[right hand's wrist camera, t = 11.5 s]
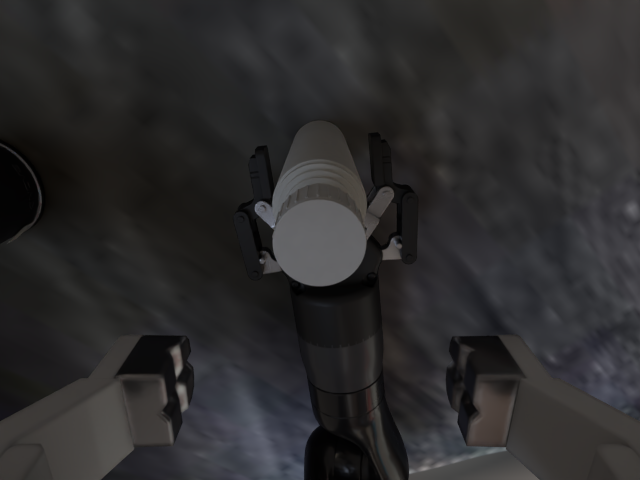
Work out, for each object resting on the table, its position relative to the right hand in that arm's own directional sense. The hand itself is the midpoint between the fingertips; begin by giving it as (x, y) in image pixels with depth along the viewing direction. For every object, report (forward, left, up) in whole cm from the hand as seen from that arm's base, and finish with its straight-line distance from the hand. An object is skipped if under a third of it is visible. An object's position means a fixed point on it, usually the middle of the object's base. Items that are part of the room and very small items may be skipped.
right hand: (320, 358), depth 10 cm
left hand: (-1, -1, -24) cm, 24 cm away
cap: (0, 0, -8) cm, 8 cm away
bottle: (0, 0, -31) cm, 31 cm away
